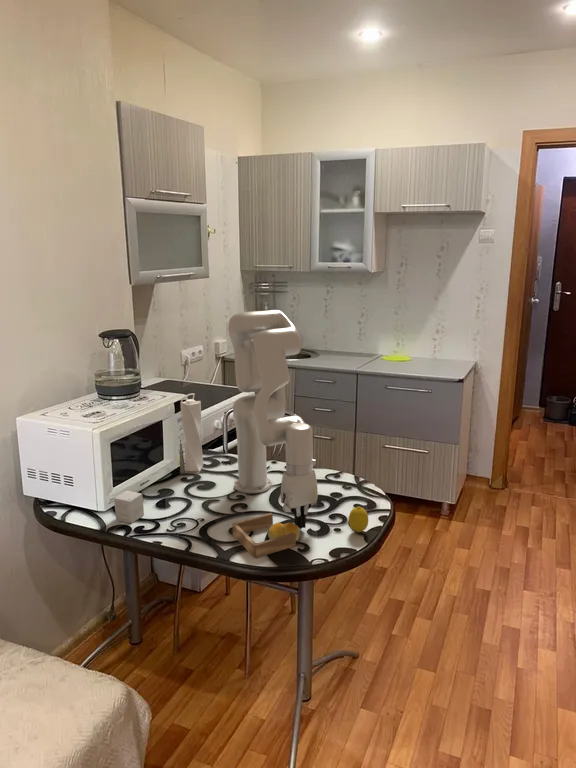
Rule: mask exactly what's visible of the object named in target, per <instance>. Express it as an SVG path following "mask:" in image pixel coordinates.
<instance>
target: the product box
mask: <svg viewBox="0 0 576 768" xmlns="http://www.w3.org/2000/svg"><path fill="white" fill-rule="evenodd" d="M143 500H144V499H143V493H140V492H136V491H135V492H134V491H131V490H124V491H123V492H122V493H120V494H119V495H117V496H116V497H114V498H113V502H114V511H115V520H116V521H120V522H124V523H128V524H134V523H135V522H136V521H138V520H139V519H140V518H142V517H143V516H144V515H145V512H144V510H145V509H144V501H143Z"/></svg>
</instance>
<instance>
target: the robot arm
mask: <svg viewBox="0 0 576 768" xmlns="http://www.w3.org/2000/svg"><path fill="white" fill-rule="evenodd" d="M227 328H228V329H227V330H228V336H229V339H230V341H231V344H232V348H233V352H234V369H235V371H234V372H235V382H236V387H237V390H239V391H240V392H241V393H254V392H255V393H256V392H257V394H251V395H246V396H242V397H238V398H237V399H236V400H235V401H234V403H233V404H232V414H233V420H234V424H235V430H236V432H235V433H236V442H237V443H236V444H237V445H236V447H237V449H236V450H237V465H238V466H237V469H238V470H237V473H238V479H237V480H235V481H234V484H233V485H234V489H235V490H236V491H238V492H240V493H244V494H250V495H251V494H253V495H254V494H259V493H264V492H267V491H269V490H270V489H271V488H272V483H273V482H272V480H271V478H268V476H267V475H268V473H267V471H268V469H267V447H273V446H278V445H282V444H285V471H283V473H282V477H281V486H280V503H281V504H283V506H282V511H283V512H285V513H292V514H293V517H294V520H293V521H294V523H293V524H295V525H297V526H298V527H299V528H300V530H301V529H305V528H306V523H307V515H308V513H309V510H310V509H311V507H313V506H315V505H317V504H318V501H317V500H318V496H319V495H318V493H319V492H318V491H319V490H318V480H317V475H316V471H315V469H314V465H316V464H317V460H316V459H313V458H314V457H313V455H314V454H313V453H314V451H313V448H314V447H313V443H314V442H313V441H314V440H313V439H314V438H313V428H312V426H311V425H309V424H308V423H305V420H304V419H303V418H302V417H301V416H300V415H288V416H285V414H286V385H288V384H289V383H290V381H291V375H290V371H289V368H288V362H287V359H286V356H287V357H288V356H295V355H298V354H299V353H300V352H301V351H302V346H303V345H302V339H301V335H300V333H299V331H298V329H297V327H296V326H295V325H294V323H293V322H292V321H291V320H290V319H289V318H288V316H287V315H286V314H285V313H284V312H282V311H281V310H279V309H269V310H268V309H267V310H254V311H252V310H251V311H245V312H238V313H236V314H233V315H231V317H230V318H229V321H228V325H227Z"/></svg>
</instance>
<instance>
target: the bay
mask: <svg viewBox="0 0 576 768" xmlns="http://www.w3.org/2000/svg"><path fill="white" fill-rule="evenodd" d="M273 518H274V516H273V513H272V512H269V513H266V514H265V513H264V514H261V515H258V516H255V517H249V518H247V519H243V520H239V521H236V522H233V523H232V524H231V525H232V526H231V528H232V536H233V537H234V538H235V539H236V540H237V541H238V542H239V544H240V545H241V546H242V547H244V549H245V550H246V551H247V552H248V553H249V554H250V555H251V556H252V557H253V559H255V558H260V557H264V556H266V555H270V554H274V553H277V552H280V551H284V550H287V549H290V548H294V547H296V545H297V541H296V534H295V533H290V534H287V535H283V536H280V537H277V538H273V539H270V538H269V539H267V540H263V541H260V542H255V541H254V539H252V538H251V537H250V536H249V535H248V534H247V533H251V532H254V531H258V530H261V529H265V528H270V527H271V526H272V525H274V520H273Z"/></svg>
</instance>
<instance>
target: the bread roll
mask: <svg viewBox="0 0 576 768" xmlns="http://www.w3.org/2000/svg"><path fill="white" fill-rule="evenodd" d="M300 531H301V529H300V528H299V527H298V526H297V525H295V523H293V522H287V523H281V522H276V523H273V525H272V526H269V527H268V530H267V536H268V538H269V540H270V539H273V538H277V537H280V536H283V535H287V534H290V533H295V534H296V542H297V541H299V539H300V536H301V535H300V534H301V532H300Z"/></svg>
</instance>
